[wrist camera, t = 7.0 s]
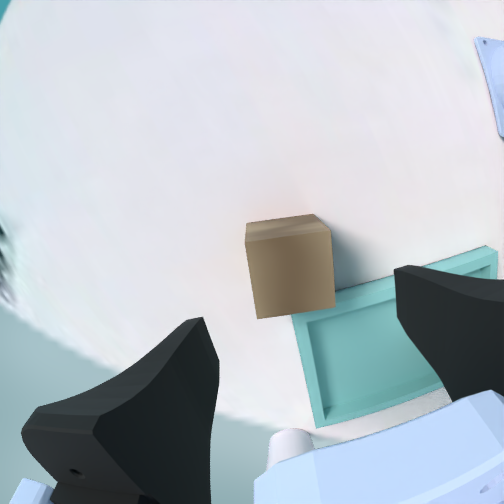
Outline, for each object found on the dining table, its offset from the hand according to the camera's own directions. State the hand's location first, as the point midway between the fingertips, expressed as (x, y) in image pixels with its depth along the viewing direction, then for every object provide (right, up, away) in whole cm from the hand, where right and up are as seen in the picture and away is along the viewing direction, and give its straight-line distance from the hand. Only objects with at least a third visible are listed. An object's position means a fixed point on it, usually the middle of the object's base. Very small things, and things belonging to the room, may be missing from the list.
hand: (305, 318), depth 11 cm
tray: (+10, -4, +10) cm, 15 cm away
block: (0, +2, +8) cm, 9 cm away
